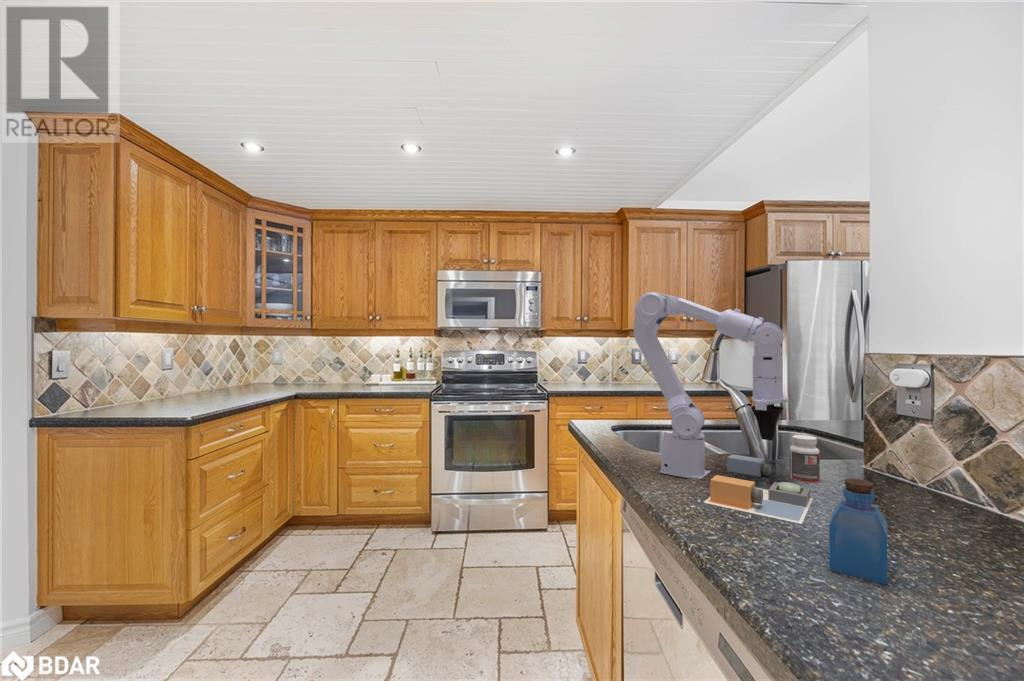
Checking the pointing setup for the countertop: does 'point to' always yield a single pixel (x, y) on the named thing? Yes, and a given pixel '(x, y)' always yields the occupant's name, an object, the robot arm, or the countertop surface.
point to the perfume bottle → (858, 534)
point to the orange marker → (735, 491)
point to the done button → (789, 487)
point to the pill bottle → (804, 459)
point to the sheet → (771, 509)
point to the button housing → (789, 496)
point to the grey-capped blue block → (748, 465)
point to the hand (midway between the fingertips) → (767, 439)
